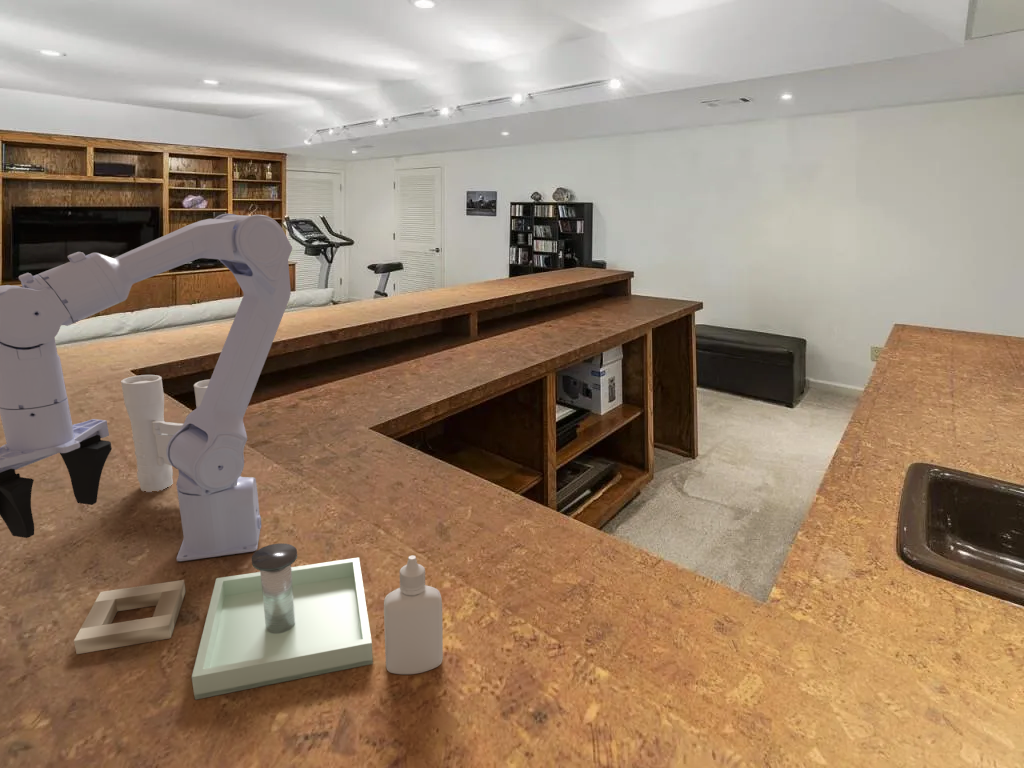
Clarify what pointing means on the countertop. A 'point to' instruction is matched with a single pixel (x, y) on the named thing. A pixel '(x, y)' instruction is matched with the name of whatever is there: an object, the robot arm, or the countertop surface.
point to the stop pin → (277, 585)
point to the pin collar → (106, 635)
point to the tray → (292, 654)
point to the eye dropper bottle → (413, 623)
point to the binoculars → (152, 428)
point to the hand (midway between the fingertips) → (56, 518)
